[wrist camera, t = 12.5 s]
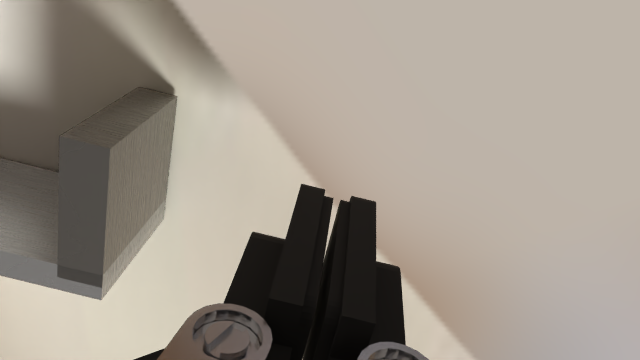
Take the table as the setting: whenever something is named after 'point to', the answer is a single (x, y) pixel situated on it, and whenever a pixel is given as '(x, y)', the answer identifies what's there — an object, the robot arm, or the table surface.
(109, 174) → the grey l-shaped block
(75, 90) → the table surface
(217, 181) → the table surface
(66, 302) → the table surface
